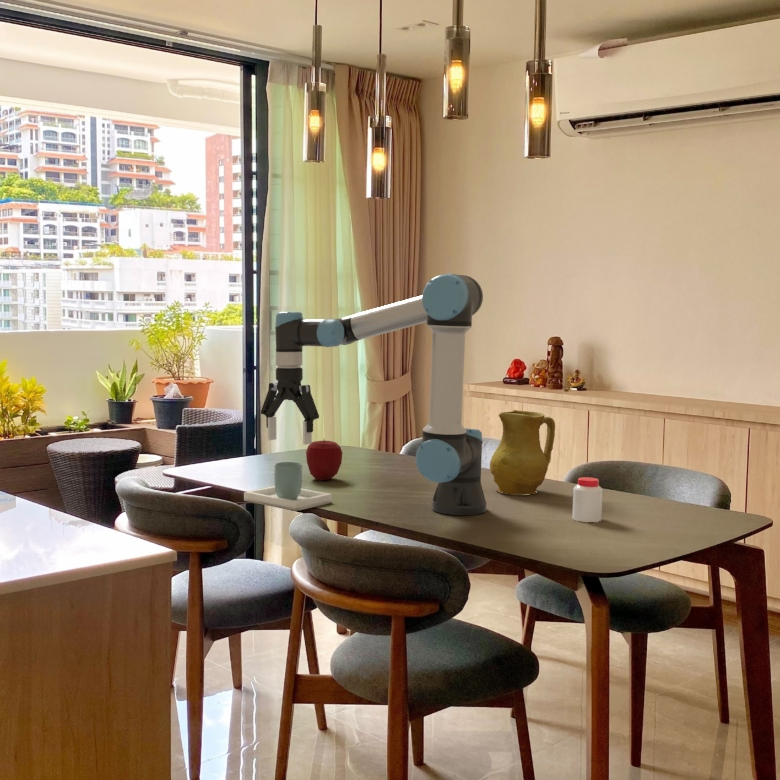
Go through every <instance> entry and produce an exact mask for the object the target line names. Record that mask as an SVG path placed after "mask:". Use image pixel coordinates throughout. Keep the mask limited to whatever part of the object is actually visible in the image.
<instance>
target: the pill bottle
mask: <svg viewBox="0 0 780 780" xmlns="http://www.w3.org/2000/svg"><path fill="white" fill-rule="evenodd" d="M599 484H600V481H599V478H595V477H589V476H587V477H584V476H583V477H578V479H577V484H576V485H575V486H574V487H573V488H572V489H573V490H572V491H573V493H572V514H571V515H572V516H571V518H572V520H573V519H574V521H575V520H576V522H579V521H581V522H580V523H588V522H594V523H600V522H601V521H602V511H603V491H604V489H603V488H602V487H601V486H600V485H599ZM599 521H600V522H599Z"/></svg>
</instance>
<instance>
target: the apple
mask: <svg viewBox="0 0 780 780" xmlns="http://www.w3.org/2000/svg"><path fill="white" fill-rule="evenodd" d="M305 454H306V456H305V457H306V464H307V467H308V470H309V473H310V475H311V476H312V477H313V478H314V479H315V480H316V481H329V480H332V479H333V478H334V477H335V476H336V475H337V474H338V472H339V470H340V467H341V465H342V461H343V451H342V447H341V445H340V444H338V442H336V441H332V440H331V441H330V440H325V439H323V440H317V441H316V440H315V441H312V444H308V446H307V448H306V451H305Z"/></svg>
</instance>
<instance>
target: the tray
mask: <svg viewBox="0 0 780 780" xmlns="http://www.w3.org/2000/svg"><path fill="white" fill-rule="evenodd" d="M243 502H248V503H254V504H257V505H258V504H259V505H263V506H268V507H272V508H278V509H283V510H288V511H294V512H298V511H299V512H300V511H302V510H307V509H311V508H315V507H320V506H325V505H328V504H332V503H333V494H332V493H328V492H321V491H317V490H312V489H306V488H301V493H300V495H299V497H298V498H296V499H294V500H290V499H285V498H280V497H277V495H276V492H275V485H272V486H269V487H263V488H258V489H252V490H248V491H244V492H243Z"/></svg>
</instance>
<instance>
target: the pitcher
mask: <svg viewBox="0 0 780 780" xmlns="http://www.w3.org/2000/svg"><path fill="white" fill-rule="evenodd" d="M498 417H499V418H500V421H501V424H502V435H501V438H500V442H499V444H498V445H497V447H496V448H495V450H494V452H493V454H492V456H491V459H490V462H489V471H490V473H491V475H493V482H495V484H496V485H497V486H498V489H497V490H498V491H500V492H503V493H507V494H506V495H508V494H533V493H536V492H535V491H537V489H538V488H539V487H540V486H541V485H542V484H543V482H544V481H545V478H546V474H547V472H548V469H549V464H550V463H551V460H552V451H553V449H554V443H555V442H554V441H555V436H556V435H555V434H556V433H555V431H556V422H555V420H554V418H552V417H550V416H545V414H544V413H542V412H537V411H529V410H518V409H513V410H511V411H503V412H500V413H499V414H498ZM543 424H545V425H546V438H545V444H544V450H543V449H542V447H541V440H540V438H541V437H540V429H541V426H543ZM536 494H537V493H536ZM533 495H534V494H533Z"/></svg>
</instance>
